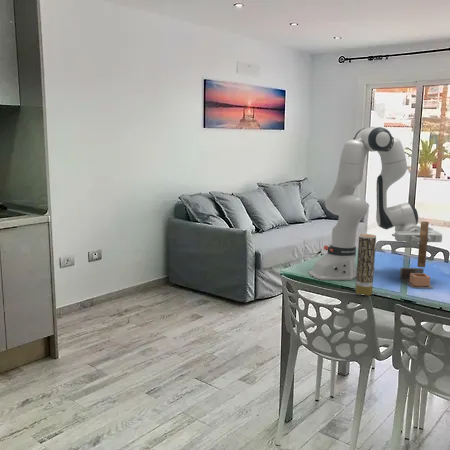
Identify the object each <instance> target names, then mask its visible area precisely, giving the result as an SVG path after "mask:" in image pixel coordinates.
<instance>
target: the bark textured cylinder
mask: <svg viewBox="0 0 450 450" xmlns="http://www.w3.org/2000/svg"><path fill="white" fill-rule="evenodd" d="M376 243H377V235H376V234H371V233H362V234H359V235H358V246H357V248H358V249H357V261H356V274H357V275H356V277H355V279H356V280H355V294H356V293H358V294H364V295H367V296H366V297H369V296H372V295H373V288H374V287H373V286H374V272H375V260H376V259H375V258H376V247H377V246H376V245H377V244H376ZM358 294H357V295H358Z"/></svg>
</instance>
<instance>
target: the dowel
mask: <svg viewBox="0 0 450 450" xmlns="http://www.w3.org/2000/svg"><path fill="white" fill-rule="evenodd" d="M429 223H430V222H429V221H420V226H421V228H420V238H421V240H420V242H419V243H418V255H417V268H425V267H426V263H427V262H426V261H427V250H428V242H427V238H428V228H429V226H430V225H429Z"/></svg>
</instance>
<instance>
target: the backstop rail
mask: <svg viewBox="0 0 450 450" xmlns="http://www.w3.org/2000/svg"><path fill="white" fill-rule="evenodd" d="M424 270H425V269H424V267H400V272H399V279H400V280H401V281H403V282H404V283H405V284H407V285H408V286H409V287H410V288H412V289H430V290H431V289H432V290H433V289H434V286H432V285H431V284H430V286H414V285H413V284H412V283H411V282H409V280H410V273H424V272H425V271H424Z"/></svg>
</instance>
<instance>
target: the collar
mask: <svg viewBox="0 0 450 450" xmlns="http://www.w3.org/2000/svg"><path fill="white" fill-rule="evenodd" d="M409 282H411V283H412V284H413V285H414V286H430V285H431V276H430V275H428V274H426V273H424V272H423V273H410V280H409Z"/></svg>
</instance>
